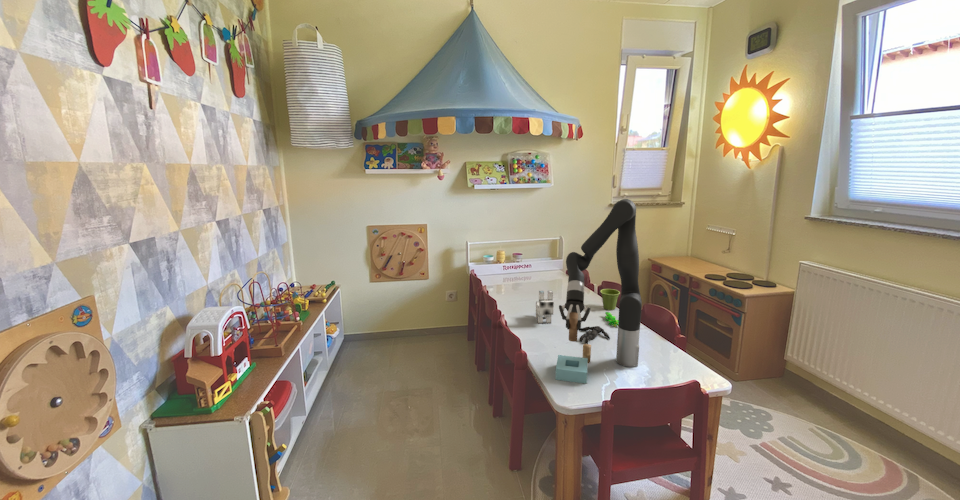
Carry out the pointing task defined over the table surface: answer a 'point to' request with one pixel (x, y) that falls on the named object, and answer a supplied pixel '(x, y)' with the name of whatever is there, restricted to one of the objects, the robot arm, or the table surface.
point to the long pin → (573, 326)
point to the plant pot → (609, 298)
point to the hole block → (571, 369)
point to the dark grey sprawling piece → (592, 333)
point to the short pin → (587, 352)
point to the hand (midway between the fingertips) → (573, 329)
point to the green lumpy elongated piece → (611, 319)
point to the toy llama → (544, 307)
